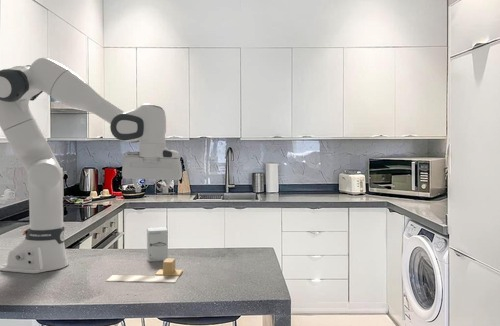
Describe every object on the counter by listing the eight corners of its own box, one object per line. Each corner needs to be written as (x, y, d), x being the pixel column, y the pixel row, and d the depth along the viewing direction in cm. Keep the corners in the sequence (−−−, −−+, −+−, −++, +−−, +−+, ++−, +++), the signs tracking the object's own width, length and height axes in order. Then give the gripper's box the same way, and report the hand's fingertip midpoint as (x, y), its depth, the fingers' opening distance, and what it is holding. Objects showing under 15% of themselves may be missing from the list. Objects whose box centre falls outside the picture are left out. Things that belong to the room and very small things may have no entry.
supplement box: (147, 265, 170) (147, 230, 170) (146, 259, 177) (146, 227, 177) (168, 263, 172) (167, 230, 172) (166, 258, 179) (166, 226, 179)
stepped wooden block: (155, 276, 152) (155, 262, 152) (159, 271, 158) (159, 257, 158) (179, 276, 152) (179, 262, 152) (182, 271, 157) (182, 258, 157)
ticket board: (102, 285, 146) (102, 280, 146) (116, 273, 159) (116, 269, 159) (177, 287, 145) (177, 282, 145) (185, 275, 158) (185, 270, 158)
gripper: (119, 151, 155) (118, 192, 156) (179, 153, 154) (179, 194, 155) (125, 151, 161) (124, 190, 162) (183, 152, 160) (182, 192, 161)
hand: (151, 192), depth 158 cm, fingers open, 8 cm apart
